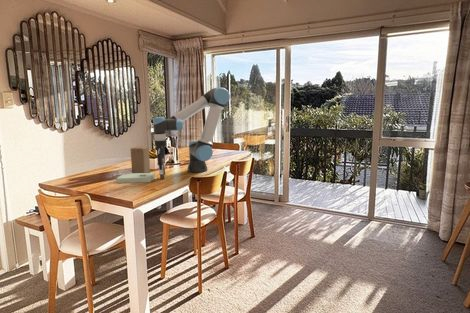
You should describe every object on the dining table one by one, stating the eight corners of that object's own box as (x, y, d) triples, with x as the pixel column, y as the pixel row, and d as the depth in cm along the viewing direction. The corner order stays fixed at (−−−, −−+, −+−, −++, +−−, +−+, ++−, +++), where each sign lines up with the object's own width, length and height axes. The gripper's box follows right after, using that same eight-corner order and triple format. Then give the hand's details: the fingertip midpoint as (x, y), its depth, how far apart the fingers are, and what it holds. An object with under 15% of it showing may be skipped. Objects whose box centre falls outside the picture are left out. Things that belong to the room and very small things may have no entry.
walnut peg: (166, 177, 209) (164, 158, 207) (164, 179, 205) (163, 159, 203) (160, 177, 209) (158, 158, 207) (158, 179, 205) (157, 159, 203)
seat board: (155, 177, 212) (155, 172, 211) (150, 182, 198) (149, 177, 198) (124, 177, 212) (123, 173, 211) (116, 182, 198) (116, 178, 197)
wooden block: (144, 175, 217) (142, 148, 213) (131, 175, 219) (129, 148, 215) (150, 172, 226) (149, 146, 223) (138, 171, 228) (136, 146, 225)
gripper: (157, 138, 211) (159, 170, 215) (151, 141, 194) (153, 176, 198) (168, 138, 211) (170, 170, 215) (162, 141, 194) (165, 176, 198)
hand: (162, 173), depth 207 cm, fingers closed on walnut peg, 4 cm apart
